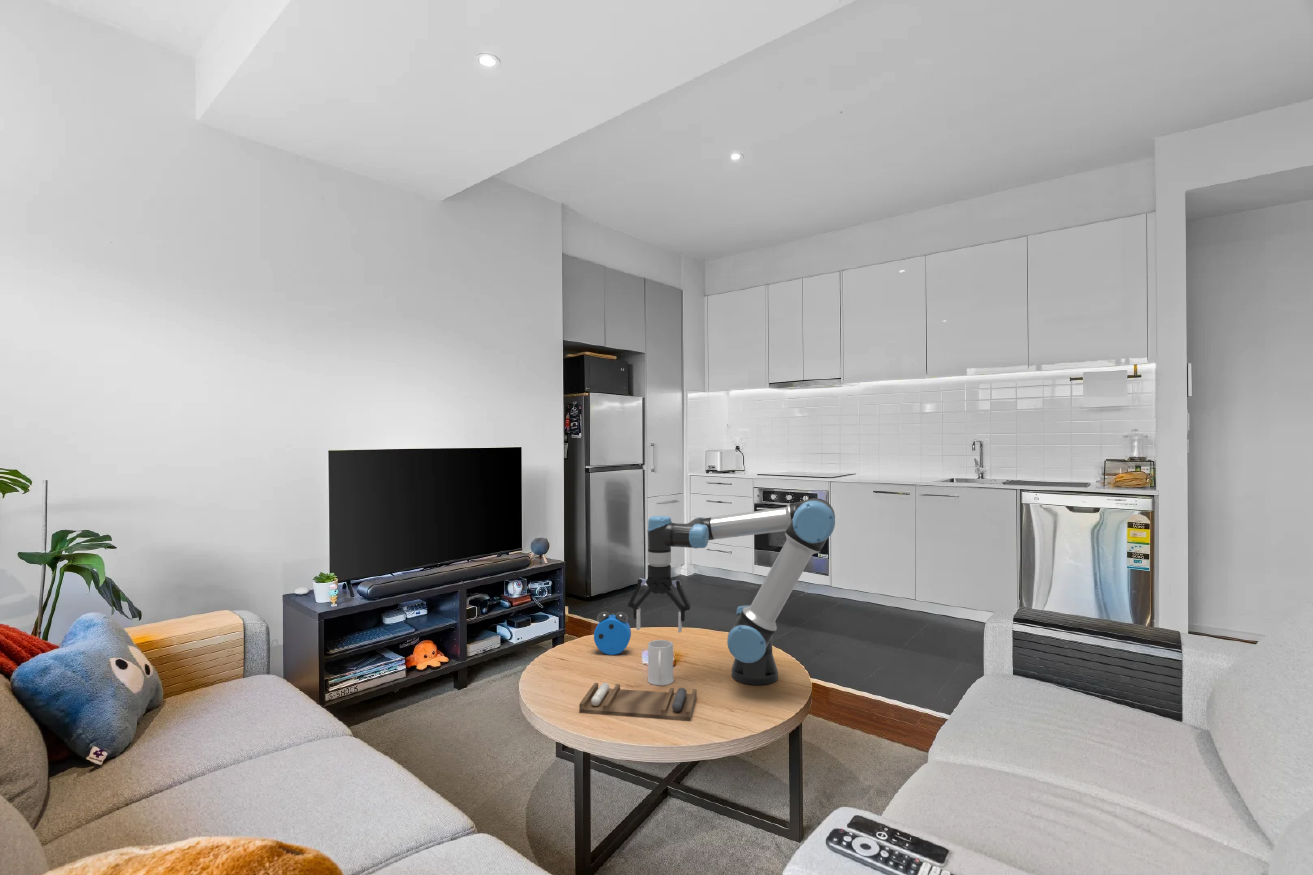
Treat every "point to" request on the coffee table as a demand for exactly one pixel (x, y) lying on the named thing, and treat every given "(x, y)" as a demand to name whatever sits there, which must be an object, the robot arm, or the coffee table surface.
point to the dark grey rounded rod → (679, 699)
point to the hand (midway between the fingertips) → (659, 630)
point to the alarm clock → (612, 633)
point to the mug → (660, 662)
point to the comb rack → (639, 703)
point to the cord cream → (600, 694)
